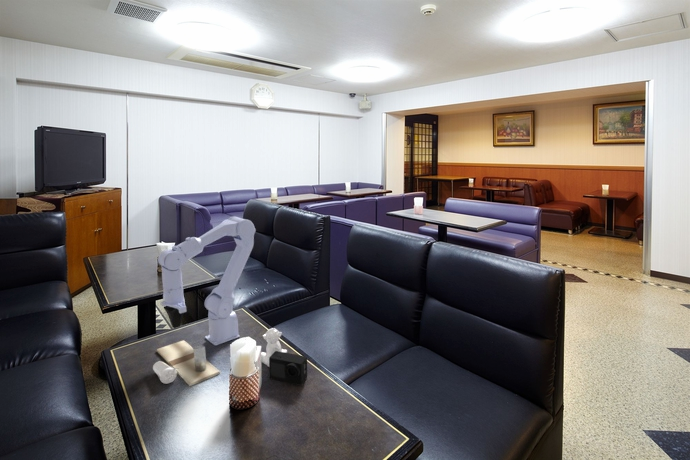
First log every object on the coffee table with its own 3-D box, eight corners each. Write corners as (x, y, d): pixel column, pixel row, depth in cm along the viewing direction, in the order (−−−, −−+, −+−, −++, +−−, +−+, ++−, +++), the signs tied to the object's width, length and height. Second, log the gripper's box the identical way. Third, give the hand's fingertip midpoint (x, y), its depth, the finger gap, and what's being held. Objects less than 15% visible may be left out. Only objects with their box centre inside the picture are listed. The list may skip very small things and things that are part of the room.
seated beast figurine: (286, 353, 126) (286, 319, 123) (291, 367, 118) (290, 331, 115) (257, 357, 123) (256, 323, 120) (260, 372, 115) (259, 335, 112)
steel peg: (203, 364, 117) (202, 344, 115) (208, 369, 114) (206, 347, 113) (193, 368, 114) (191, 347, 113) (197, 373, 112) (196, 351, 111)
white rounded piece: (171, 360, 116) (184, 371, 109) (158, 376, 114) (171, 388, 107) (160, 353, 114) (172, 364, 107) (147, 369, 112) (159, 381, 105)
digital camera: (267, 381, 110) (266, 359, 109) (275, 371, 115) (275, 350, 114) (299, 388, 107) (299, 366, 106) (307, 377, 112) (307, 356, 111)
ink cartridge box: (258, 400, 102) (257, 351, 99) (239, 401, 101) (237, 351, 98) (262, 381, 110) (261, 335, 107) (245, 382, 110) (243, 335, 106)
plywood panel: (184, 342, 131) (183, 339, 131) (219, 373, 113) (219, 370, 113) (156, 351, 125) (156, 348, 125) (189, 386, 107) (189, 383, 107)
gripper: (152, 283, 122) (155, 322, 125) (168, 296, 112) (171, 338, 115) (174, 279, 127) (177, 316, 130) (191, 291, 117) (194, 331, 120)
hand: (176, 326), depth 123 cm, fingers closed
